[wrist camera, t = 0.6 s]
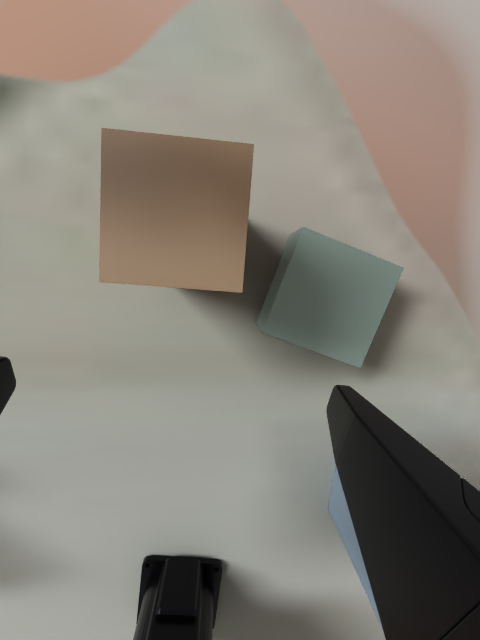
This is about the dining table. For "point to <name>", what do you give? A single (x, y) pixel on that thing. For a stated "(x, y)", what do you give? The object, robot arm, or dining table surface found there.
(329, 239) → the base block
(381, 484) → the robot arm
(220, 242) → the walnut column
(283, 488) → the dining table surface
